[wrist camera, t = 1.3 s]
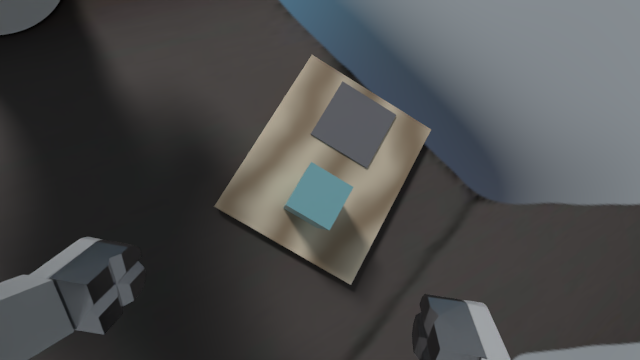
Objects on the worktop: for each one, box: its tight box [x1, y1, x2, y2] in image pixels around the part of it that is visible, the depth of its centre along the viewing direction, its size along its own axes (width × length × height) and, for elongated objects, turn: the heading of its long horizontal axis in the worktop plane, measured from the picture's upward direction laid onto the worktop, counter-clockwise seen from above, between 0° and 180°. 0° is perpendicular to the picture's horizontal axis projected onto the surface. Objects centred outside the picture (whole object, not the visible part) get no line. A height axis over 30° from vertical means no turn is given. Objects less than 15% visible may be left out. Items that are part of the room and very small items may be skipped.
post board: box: [214, 55, 431, 285], centre depth 35 cm, size 18×22×6 cm
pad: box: [311, 81, 396, 168], centre depth 37 cm, size 8×8×1 cm
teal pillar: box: [283, 162, 353, 230], centre depth 31 cm, size 5×5×8 cm
